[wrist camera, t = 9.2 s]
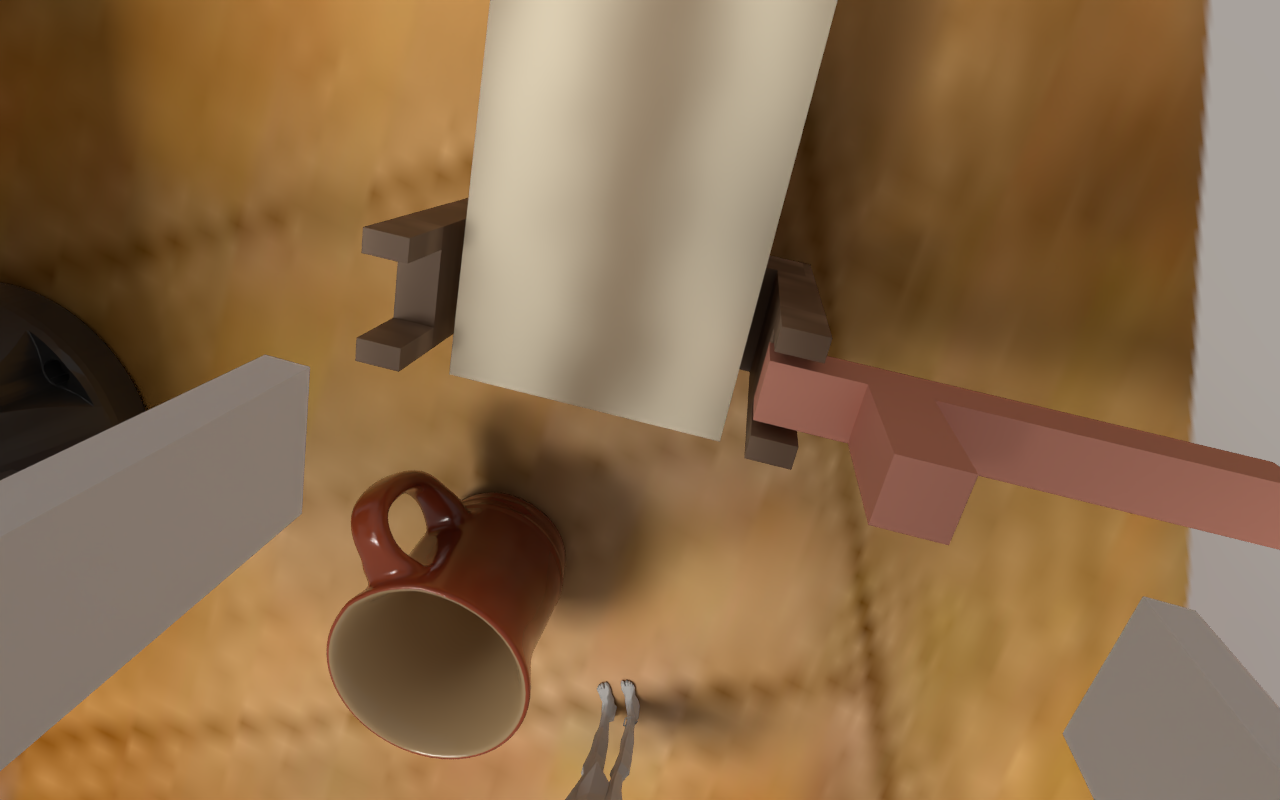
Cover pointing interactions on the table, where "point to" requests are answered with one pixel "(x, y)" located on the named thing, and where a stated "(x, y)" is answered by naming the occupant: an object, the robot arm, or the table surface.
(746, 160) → the lid
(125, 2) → the table surface
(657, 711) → the table surface
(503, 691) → the mug
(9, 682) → the robot arm
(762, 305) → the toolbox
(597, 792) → the human figurine
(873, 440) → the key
